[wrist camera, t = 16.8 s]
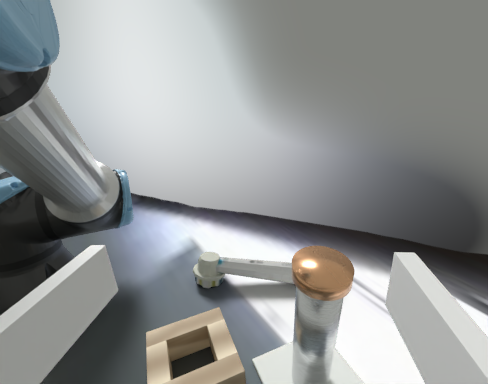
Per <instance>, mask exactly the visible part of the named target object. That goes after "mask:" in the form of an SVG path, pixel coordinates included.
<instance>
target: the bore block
mask: <svg viewBox="0 0 488 384" xmlns="http://www.w3.org/2000/svg"><path fill="white" fill-rule="evenodd" d="M209 346H210V347H211V350H212V354H213V357H214V361H215V362H213V363H211V364H208V365H206V366H203V367H201V368H199V369H196V370H194V371H192V372H189V373H187V374H184V375H182V376H180V377H177V378H175V379H173V373H172V365H171V362H172V361H174V360H177V359H179V358H182V357H184V356H187V355H189V354H192V353H194V352H197V351H199V350H202V349H204V348H207V347H209ZM146 348H147V384H246V380H245V370H244V368H243V365H242V363H241V361H240V358H239V356H238V353H237V351H236V348H235V346H234V343H233V341H232V338H231V336H230V333H229V331H228V328H227V326H226V323H225V321H224V318H223V316H222V313H221V311H220V308H219V307H218V308H215V309H212V310H209V311H206V312H204V313H201V314H198V315H195V316H192V317H189V318H186V319H183V320H181V321H178V322H175V323H172V324H169V325H166V326H163V327H160V328H158V329H155V330H152V331H149V332H146Z"/></svg>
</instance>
